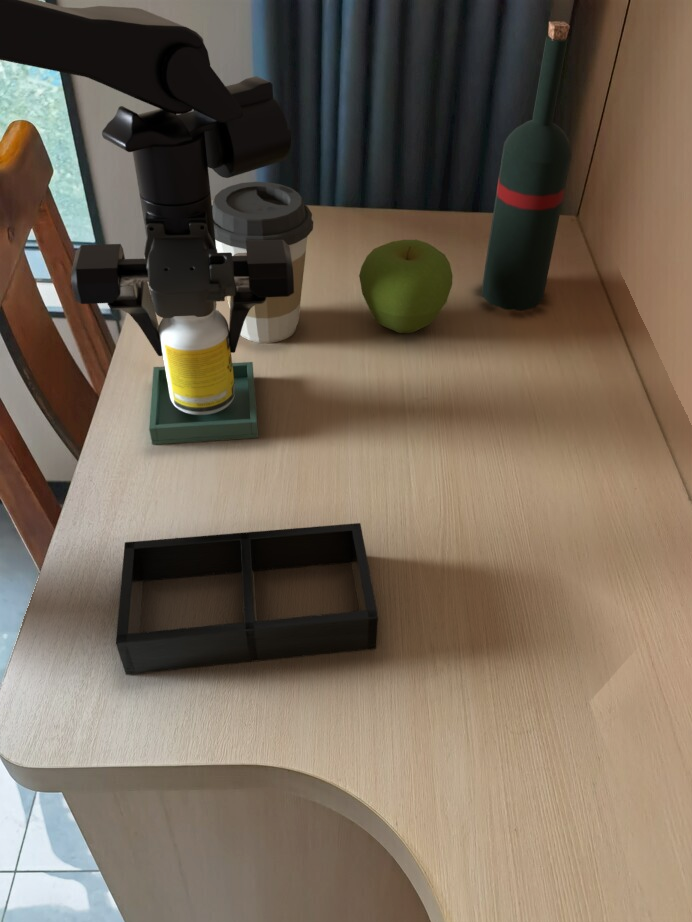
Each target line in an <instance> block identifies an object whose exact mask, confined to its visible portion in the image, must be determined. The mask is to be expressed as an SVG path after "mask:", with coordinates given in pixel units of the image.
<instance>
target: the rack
mask: <svg viewBox="0 0 692 922" xmlns="http://www.w3.org/2000/svg"><path fill="white" fill-rule="evenodd" d="M362 529H363V528H362V524H361V522H355V523H344V524H333V525H331V524H330V525H319V526H307V527H305V526H304V527H294V528H293V527H292V528H282V529H271V530H269V529H268V530H258V531H247V532H237V533H236V532H233V533H222V534H221V533H220V534H210V535H209V534H208V535H197V536H196V535H195V536H188V537H187V536H185V537H173V538H161V539H160V538H159V539H149V540H135V541H134V540H133V541H125V542H124V546H123V547H124V548H123V557H122V569H121V578H120V580H121V582H120V589H119V601H118V611H117V624H116V634H115V646H116V649H117V653H118V655H119V659H120V662H121V664H122V665H121V666H122V668H123V671H124V673H125V675H126V676H128V675H138V674H146V673H147V674H148V673H156V672H166V671H177V670H184V669H194V668H202V667H203V668H205V667H214V666H223V665H230V664H241V663H243V664H244V663H251V662H260V661H270V660H281V659H288V658H289V659H290V658H297V657H298V658H299V657H309V656H310V657H311V656H319V655H328V654H337V653H348V652H357V651H366V650H367V651H368V650H376V649H377V643H378V631H379V630H378V629H379V613H378V608H377V602H376V598H375V592H374V588H373V582H372V577H371V571H370V566H369V560H368V555H367V551H366V545H365V539H364V533H363V530H362ZM349 563H350V564H351V570H352V575H353V581H354V586H355V592H356V597H357V598H356V599H357V604H358V610H356V611H355V610H354V611H345V612H334V613H326V614H325V613H324V614H314V615H303V616H295V617H293V616H292V617H285V618H274V619H273V618H272V619H265V620H257V619H258V617H257V602H256V601H257V599H256V585H255V572H259V571H272V570H281V569H282V570H283V569H293V568H294V569H295V568H304V567H305V568H306V567H317V566H327V565H328V566H329V565H339V564H349ZM237 573H238V574H239V573H241V584H242V586H241V587H242V603H243V605H242V606H243V607H242V608H243V622H233V623H223V624H211V625H203V626H193V627H192V626H191V627H182V628H180V627H179V628H171V629H161V630H152V631H142V632H141V631H140V630H141V617H142V616H141V615H142V603H143V601H142V599H143V588H144V587H143V586H144V585H143V584H144V582H147V581H156V580H157V581H159V580H160V581H161V580H170V579H180V578H192V577H193V578H194V577H203V576H205V577H206V576H215V575H226V574H237Z"/></svg>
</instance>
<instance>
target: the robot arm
mask: <svg viewBox="0 0 692 922" xmlns="http://www.w3.org/2000/svg"><path fill="white" fill-rule="evenodd" d="M0 61H4V62H9V63H14V64H19V65H24V66H29V67H34V68H39V69H44V70H48V71H54V72H59V73H63V74H68V75H74V76H78V77H83V78H88V79H90V80H92V81H95V82H97V83H100V84H102V85H104V86H107V87H109V88H110V89H113V90H116V91H118V92H120V93H122V94H124V95H127V96H129V97H131V98H133V99H136V100H138V101H140V102H143V103H146V104H148V105H151V106H153V107H155V108H157V109H154V110H150V111H146V112H142V113H137V112H135V111H134V110H131V109H130V108H127V107H125V106H123V105H120V106H118V108H117V111H116V113H115V115H114V116H113V118H112V119H111V120H110V121H109V122H108V123H107V124H106V125H105V127H103V129H102V131H101V136H102V139H104V140H106V141H107V142H109V143H111V144H112V145H115V146H116V147H119V148H120V149H122V150H124V151H125V152H127V153H132V158H133V163H134V171H135V175H136V181H137V187H138V193H139V199H140V206H141V212H142V217H143V224H144V230H145V236H146V239H145V246H144V253H143V255H144V258H126V257H125V251H124V248H123V246H122V244H121V243H102V244H100V243H99V244H97V243H96V244H80V246H79V247H78V248H77V250H76V251H75V253H74V258H73V262H72V267H71V271H70V284H71V288H72V292H73V296H74V301H75V302H77V303H78V304H81V305H93V304H95V305H96V304H107V306H108V307H109V308H110V309H111V310H121V311H122V312H124V313H127V314H128V315H129V316H130V317H131V318H132V319H133V320H134V321H135V323H136V324H137V325H138V327H139V328H140V330H141V332H142V333H143V334H144V336H145V338H146V339H147V340H148V342H149V344H150V345H151V347H152V349H153V350H154V351H155V353H156V355H157V356H158V357H163V354H162V348H161V343H160V338H159V320H158V317H160V318H162V319H163V318H173V317H175V316H196V317H205V316H208V315H210V314H211V313H212V312H213V309H214V302H215V301H216V302H226V300H225V299H226V298H227V296H231V297H230V307H229V323H228V327H229V340H230V351H231V354H234V353H235V352H236V350H237V347H238V344H239V341H240V337H241V335H240V333H241V330H242V327H243V324H244V321H245V318H246V316H247V314H248V312H249V310H250V309H251V308H252V307H253V306H254V305H256V304H263V303H264V302H265V301H266V297H288V296H290V295H292V294H293V293H294V277H293V266H292V259H291V253H290V247H289V246H288V244H287V243H286V242H285V241H284V240H251V241H246V250H247V253H236V254H234V255H233V256H232V253H217V249H216V241H215V231H214V222H213V212H212V205H213V201H212V193H211V184H210V183H211V182H210V174H209V169H212V170H213V172H214V173H216V174H217V175H218V176H219V177H221V178H225V179H230V178H233V177H235V176H239V175H242V174H245V173H248V172H251V171H255V170H258V169H261V168H265V167H267V166H270V165H274V164H277V163H281V162H283V161H284V160H285V159H287V157H288V155H289V153H290V149H291V145H292V132H291V128H290V127H289V126H288V121H287V118H286V116H285V112H284V111H283V109H282V106H281V105H280V103H279V102H278V101H277V100H276V98H275V97H274V86H273V83H272V82H271V81H269V80H267V79H264V78H262V77H260V76H256V75H255V76H252V77H248V78H245V79H243V80H241V81H239V82H237V83H233V84H229V85H225V84H224V82H223V80H222V79H221V78H220V77H219V75H217V73H216V72H215V70H214V69H213V68H212V66H211V60H210V56H209V51H208V49H207V47H206V44H205V43H204V38H203V36H201V35H200V34H199V33H198V32H197V31H195V30H193V29H191V28H189V27H187V26H185V25H182V24H180V23H177V22H175V21H172V20H170V19H168V18H165V17H163V16H160V15H157V14H155V13H153V12H150V11H148V10H145V9H143V8H138V7H129V6H128V7H125V6H109V5H96V6H89V7H69V6H68V7H67V6H62V5H58V4H54V3H50V2H46V1H42V0H0Z"/></svg>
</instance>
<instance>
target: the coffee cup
mask: <svg viewBox="0 0 692 922" xmlns="http://www.w3.org/2000/svg"><path fill="white" fill-rule="evenodd" d="M212 212H213V222H214V231H215V241H216V249H217V253H232V256H233V255H234V254H236V253H247V250H246V241H251V240H284V241H285V242H286V243H287V244H288V246H289V247H290V253H291V259H292V266H293V277H294V293H293V294H292V295H290V296H288V297H266V301H265V302H264V303H263V304H256V305H254V306H253V307H252V308H251V309H250V310H249V312H248V314H247V316H246V318H245V321H244V324H243V327H242V330H241V333H240V337H242V338H244V339H245V340H247V341H250V342H254V343H258V344H272V343H277V342H281V341H284V340H287V339H288V338H290V337H291V336H293V335H294V333H295V332H296V330H297V325H298V324H299V319H300V311H301V301H302V291H303V283H304V282H303V281H304V274H305V273H304V272H305V263H306V254H307V246H308V245H307V244H308V237H309V235H310V234H311V233H312V232H313V230H314V220H313V212H312V211H311V210H310V208H309V207H308V205H307V204H305V203H304V199H303V197H302V195H301V193H299V192H297V191H296V190H295V189H293V188H292V187H290V186H287V185H283V184H281V183H276V182H270V181H248V182H240V183H236V184H232V185H229V186H227V187H225V188H223V189H221V190H219V192H217V193H216V194H215V195H214V196H213V200H212ZM230 297H231V296H226V299H227V302H228V306H229V308H230Z"/></svg>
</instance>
